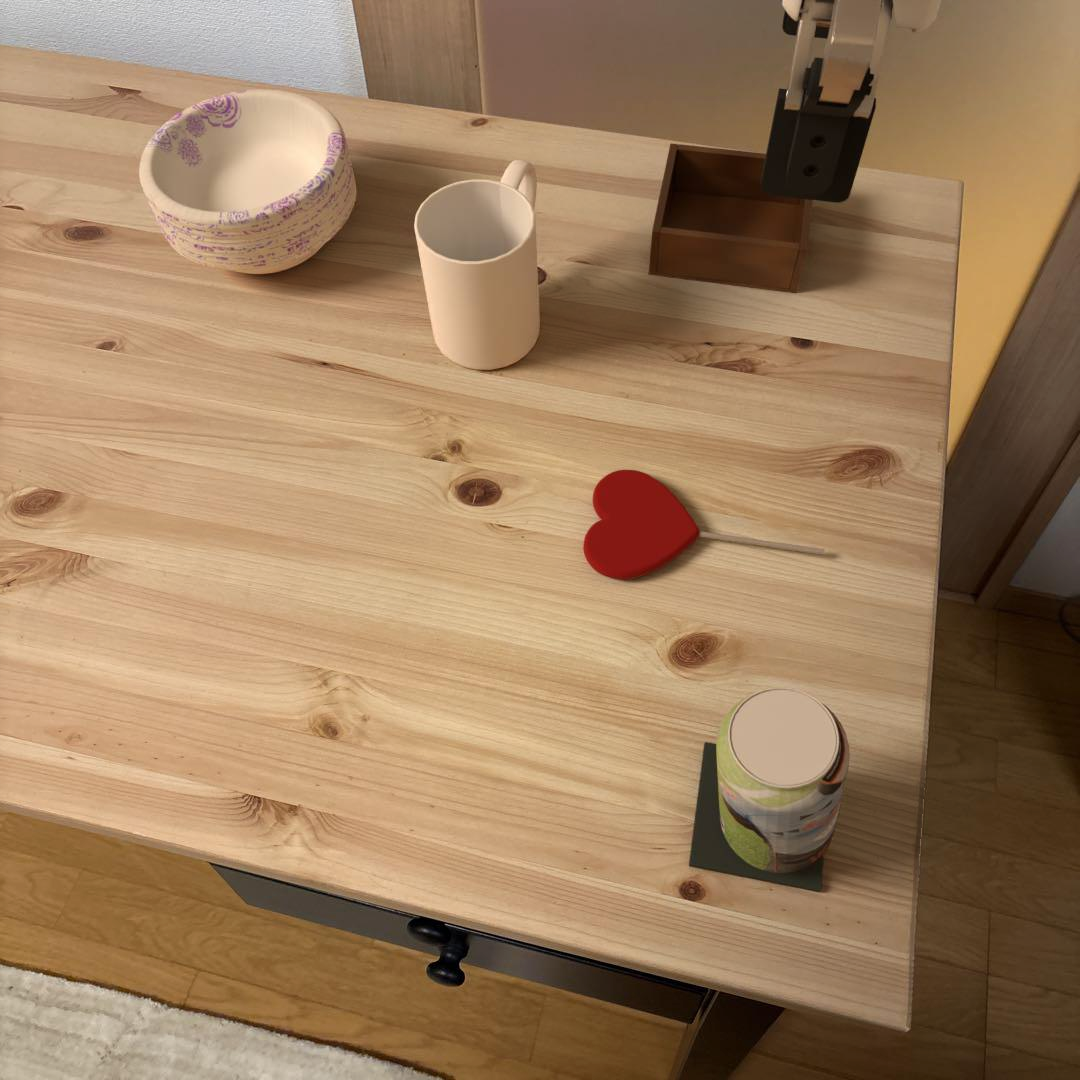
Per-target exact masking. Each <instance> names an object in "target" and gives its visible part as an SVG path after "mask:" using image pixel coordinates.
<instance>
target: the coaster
mask: <svg viewBox="0 0 1080 1080" xmlns="http://www.w3.org/2000/svg"><path fill="white" fill-rule="evenodd" d="M702 750H703V751H702V757H701V758H702V759H701V767H700V773H699V782H698V789H697V798H696V806H695V814H694V822H693V830H692V838H691V846H690V851H689V852H690V853H689V859H688V860H689V861H688V867H689V868H691V867H692V868H696V869H700V870H706V871H711V872H715V873H721V874H725V875H731V876H735V877H736V876H737V877H740V878H746V879H751V880H755V881H760V882H766V883H771V884H775V885H781V886H785V887H791V888H794V889H795V888H796V889H801V890H805V891H809V892H816V893H821V892H822V885H823V869H824V854H823V855H822V856H821V857H820V858H819V859H818V860H817V861H816V862H814V863H813V864H812V865H810V866H808V867H806V868H804V869H801V870H798V871H795V872H788V873H773V872H769V871H764V870H761V869H759V868H756V867H754V866H752V865H751V864H749V863H747V862H746V861H744V860H743V859H742V858H741V857H740V856H738V855H737V854H736V853H735V851H734V850H733V849H732V848H731V847H730V845H729V843H728V842H727V840H726V838H725V836H724V833H723V830H722V827H721V822H720V810H719V792H718V773H717V754H716V743H715V742H714V743H713V742H708V741H705V742H704V744H703V749H702Z"/></svg>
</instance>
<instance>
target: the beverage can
mask: <svg viewBox="0 0 1080 1080" xmlns="http://www.w3.org/2000/svg"><path fill="white" fill-rule="evenodd" d="M715 744H716V754H717V773H718V792H719V810H720V822H721V827H722V830H723V833H724V836H725V838H726V840H727V842H728V843H729V845H730V847H731V848H732V849H733V850H734V851H735V853H736V854H737V855H738V856H740V857H741V858H742V859H743V860H744V861H746V862H747V863H749V864H751V865H752V866H754V867H756V868H759V869H761V870H764V871H769V872H773V873H788V872H795V871H798V870H801V869H804V868H806V867H808V866H810V865H812V864H813V863H814V862H816V861H817V860H818V859H819V858H820V857H821V856H822V855H823V856H824V854H825V853H826V852H827V850H828V848H829V847H830V844H831V843H832V840H833V836H834V833H835V829H836V826H837V825H836V824H837V822H838V821H837V820H838V815H839V811H840V806H841V802H842V798H843V794H844V789H845V785H846V781H847V780H846V779H847V776H848V771H849V766H850V758H851V753H850V743H849V740H848V736H847V733H846V731H845V729H844V727H843V724H842V723H841V721H840V720H839V719H838V717H837V716H836V714H835V713H834V712H833V711H832V710H831V709H830V708H829V707H828V706H827V705H825V704H824V703H822V702H821V701H820V700H819V699H817V698H816V697H814V696H813V695H811V694H810V693H807V692H805V691H802V690H800V689H796V688H792V687H784V686H774V687H769V688H764V689H761V690H758V691H756V692H754V693H752V694H750V695H748V696H746V697H744V698H742V699H741V700H740V701H738V702H737V703H735V705H734V706H733V707H732V708H731V709H730V710H729V711H728V712H727V713H726V715H725V716H724V718H723V720H722V721H721V724H720V727H719V729H718V732H717V738H716V742H715Z"/></svg>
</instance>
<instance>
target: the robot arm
mask: <svg viewBox="0 0 1080 1080" xmlns="http://www.w3.org/2000/svg"><path fill="white" fill-rule="evenodd" d="M941 4H942V0H782V2H781V6H782V7H783V9H784V11H783V12H784V13H783V19H782V27H781V28H782V31H783V32H784V33H785V34H786V35H789V36H793V37H794V36H795V42H794V46H793V52H792V53H793V54H792V59H791V64H790V71H789V76H788V82H787V88H778V91H777V97H776V102H775V106H774V112H773V117H772V123H771V129H770V133H769V137H768V143H767V148H766V153H765V154H766V157H765V162H764V167H763V172H762V178H761V190H762V192H763V193H765V194H767V195H772V196H781V197H789V198H798V199H807V200H813V201H817V202H825V203H833V204H835V203H836V204H839V203H840V204H841V203H844V202H846V201H847V200H848V199H849V198H850V195H851V192H852V189H853V186H854V182H855V180H856V179H855V178H856V175H857V172H858V169H859V166H860V163H861V160H862V155H863V152H864V149H865V145H866V142H867V139H868V135H869V132H870V130H871V129H870V128H871V125H872V121H873V118H874V115H875V111H876V108H877V97H876V92H877V89H878V82H879V78H880V72H881V69H882V68H881V67H882V64H883V57H884V53H885V49H886V48H885V47H886V43H887V38H888V33H889V28H890V23H891V21H892V19H893V13H894V20H895V25H896V28H897V29H911V32H912V33H922V32H924V31H925V30H927V29H928V28H929V27H930V26H931V25H932V24H933V23H934V22H935V21H936V19H937V17H938V14H939V11H940V8H941ZM814 39H826V43H825V46H824V49H823V50H824V51H823V57H814V58H813V61H812V62H811V57H812V51H813V44H814V41H815V40H814ZM810 62H811V64H810Z"/></svg>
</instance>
